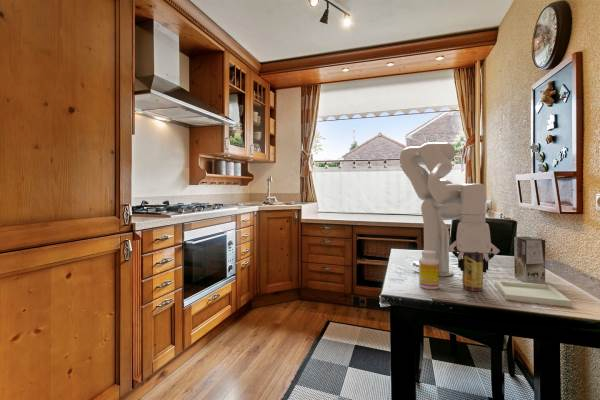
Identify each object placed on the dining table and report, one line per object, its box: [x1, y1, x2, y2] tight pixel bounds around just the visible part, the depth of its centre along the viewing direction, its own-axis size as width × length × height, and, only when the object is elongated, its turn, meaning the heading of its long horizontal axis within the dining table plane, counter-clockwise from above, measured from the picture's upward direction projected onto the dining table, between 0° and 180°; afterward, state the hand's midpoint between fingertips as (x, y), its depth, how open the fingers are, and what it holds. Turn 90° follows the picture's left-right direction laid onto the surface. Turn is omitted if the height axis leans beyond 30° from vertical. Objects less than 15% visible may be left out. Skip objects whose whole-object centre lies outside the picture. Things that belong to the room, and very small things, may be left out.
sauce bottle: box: [461, 252, 484, 292], centre depth 104 cm, size 7×6×20 cm
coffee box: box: [513, 236, 546, 284], centre depth 113 cm, size 9×6×16 cm
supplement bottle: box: [418, 249, 440, 290], centre depth 108 cm, size 7×7×13 cm
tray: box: [494, 279, 572, 308], centre depth 98 cm, size 16×16×2 cm
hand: (472, 270), depth 104 cm, fingers closed on sauce bottle, 6 cm apart
